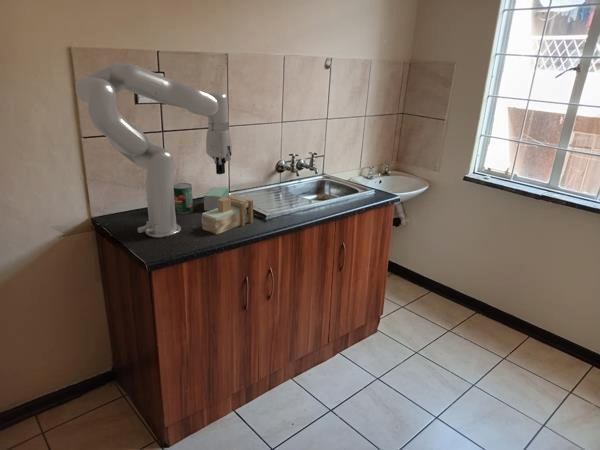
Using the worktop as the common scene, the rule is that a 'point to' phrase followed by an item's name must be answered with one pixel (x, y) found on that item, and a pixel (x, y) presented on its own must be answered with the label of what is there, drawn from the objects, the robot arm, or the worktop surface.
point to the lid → (222, 210)
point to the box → (214, 198)
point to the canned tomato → (183, 198)
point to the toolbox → (229, 220)
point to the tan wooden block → (237, 201)
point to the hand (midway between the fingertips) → (220, 173)
